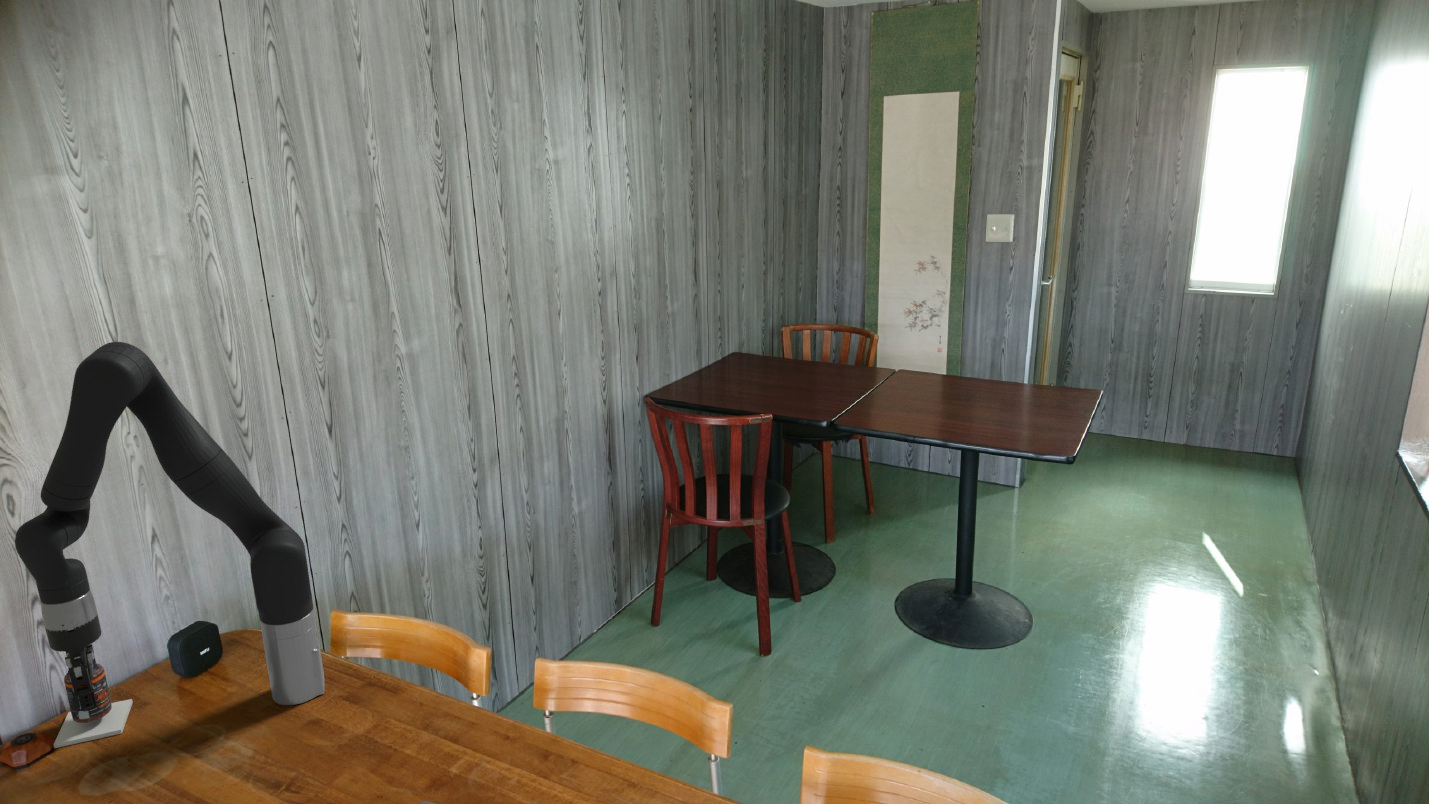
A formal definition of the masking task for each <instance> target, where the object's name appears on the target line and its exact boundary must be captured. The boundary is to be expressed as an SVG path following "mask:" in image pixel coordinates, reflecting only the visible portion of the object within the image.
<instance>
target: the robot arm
mask: <svg viewBox="0 0 1429 804" xmlns="http://www.w3.org/2000/svg"><path fill="white" fill-rule="evenodd" d="M125 409H129V411H131V413H132V414H133V415H134V416H135V417H136V418H137V420H138V421H139V422H140V424H141V425H142V427H143V429H145V430H144V431H146V433H147V436H148V438H149V440H150V443H151V446H152V447H153V450H154V451H153V452H154V453H155V456H156V457H157V459H158V462H159V464H160V465H161V468H162V469H163V471H164V473H165V474H166V476H168V478H169V479H170V480H171V481H172V482H173V484H174V485H175V486H176V487H177V488H178V489H179V490H180V491H181V493H183V494H184V495H185V497H186V498H187V499H188V500H190V501H191V502H192V503H193V504H194V505H196V506H197V507H199V508H200V509H201V510H203V511H204V512H206V513H208V514H209V515H211V516H212V517H215V518H216V519H217V520H219V521H221V522H222V523H224V524H225V525H226V526H227V527H228V528H229V529H230V530H231V531H232V532H233V534H234V535H235V536H236V538H237V539H238V541H240V542H241V544H242V545H243V547H244V548H245V549H246V551H247V553H248V554H249V558H250V566H249V567H250V576H251V582H252V588H253V593H254V594H253V595H254V598H255V605H256V609H257V613H258V618H259V622H260V623H259V624H260V630H261V636H262V642H263V649H264V655H265V662H266V667H267V672H268V680H269V684H270V685H269V686H270V692H271V698H272V700H273V702H274V703H276V704H278V705H280V706H293V705H298V704H303V703H306V702H309V701H310V700H312V699H314V698H316V697H317V696H321V695H324V694H325V672H324V665H323V659H322V658H323V657H322V651H321V650H322V649H321V645H320V644H321V643H320V637H319V636H318V631H317V626H316V622H317V621H316V617H315V610H314V602H313V600H314V599H313V595H312V588H311V580H310V572H309V566H308V559H307V553H306V552H307V551H306V545H305V542H304V541H303V539H302V538H301V536H300V535H299V533H298V532H297V531H295V530H294V529H293V528H292V527H291V526H290V525H289V524H288V523H287V522H285V521H284V520H283V519H282V518H281V517H280V516H279V515H278V514H277V513H276V512H275V511H274V510H272V509H271V508H270V506H269V505H267V504H266V502H265V501H264V500H263V499H262V498H261V497H260V495H259V494H258V492H257V491H256V489H255V488H254V486H253V485H252V483H250V481H249V480H248V478H246V476H245V475H244V474H243V472H242V471H241V470H240V469H239V467H238V466H237V464H236V463H235V462H234V461H233V460H232V458H231V457H230V456H229V455H228V454H227V453H226V452H225V450H224V449H223V448H222V447H221V445H219V444H218V443H217V442H216V441H215V440H214V438H213V437H212V436H211V435H210V433H208V432H207V430H206V429H205V428H204V426H202V425H201V424H200V422H199V420H197V419H196V417H194V416H193V414H192V413H191V412H190V411H189V410H188V409H187V408H186V407H185V406H184V404H183V402H181V400H180V399H179V398H178V397H177V395H176V394H175V392H174V391H173V390H172V388H171V387H170V385H169V383H168V382H167V381H166V379H165V378H164V376H163V374H161V372H160V370H159V369H158V368H157V366H156V365H155V364H154V362H153V361H152V360H151V358H150V357H149V356H148V355H147V354H146V353H145V352H144V351H143V350H142V349H140V348H139V347H137V346H135V345H132V344H131V343H127V342H122V341H112V342H108V343H105V344H103V345H101V346H99V347H97V348H96V349H95V350H94V351H93V352H92V353H91V354H89V355H88V356H87V357H86V358H84V359H83V360H82V361H81V362H80V363H79V365H78V366H77V368H76V369H75V374H74V378H73V383H72V389H71V396H70V402H69V409H68V413H67V419H66V423H65V427H64V431H63V433H62V436H61V439H60V441H59V443H58V447H57V450H56V451H55V453H54V456H53V459H52V461H51V463H50V466H49V468H48V471H47V474H46V477H45V479H44V482H43V483H42V487H41V490H40V499H41V502H42V503H43V504H44V505H45V506H46V508H45V510H44V511H43V512H42V513H40V514H38V515H37V516H35V517H33V518H31V519H30V520H27V521H25V522H24V523H23V524H21V526H19V528H18V529H17V531H16V533H15V537H14V546H15V550H16V552H17V555H18V556H19V558H20V559H21V561H22V563H23V564H24V566H25V567H26V569H27V570H28V572H29V573H30V575H31V576H32V578H33V579H34V580H35V582H36V587H37V591H38V592H37V593H38V596H39V600H40V607H41V610H40V611H41V616H42V620H43V623H44V624H43V625H44V629H45V633H46V637H47V640H48V645H49V648H50V649H51V650H53V651H55V652H65V656H64V661H65V666H66V667H67V669H68V670H67V673H69V676H70V681H71V682H72V686H73V690H74V695H75V697H77V696H78V697H79V701H80V705H81V710H82V711H88V710H92V709H95V708H96V707H97V703H96V698H95V694H94V689H93V688H94V685H93V682H92V677H93V676H94V674H95V673H94V667H93V659H94V657H95V658H96V656H95V648H94V643H95V642H96V641H97V640H99V638H100V637H101V635H102V628H101V623H100V620H99V614H98V610H97V606H96V601H95V598H94V595H93V592H92V591H91V587H90V583H89V579H88V574H87V571H86V567H85V565H84V563H83V561H81V560H79V559H77V558H70V557H69V558H65V555H64V550H65V549H67V548H68V547H70V546H71V545H73V544H74V543H76V542H77V541H79V539H81V537H82V536H83V535H84V534H85V531H86V529H87V528H88V525H89V521H90V512H91V499H92V497H93V494H94V493H95V490H96V488H97V485H98V482H99V480H100V478H101V475H102V472H103V469H104V465H105V461H106V455H107V453H106V452H107V446H108V442H109V439H110V437H111V433H112V431H113V429H114V427H115V425H116V423H118V420H119V419H120V418H121V416H122V414H123V412H124V411H125ZM93 656H94V657H93ZM88 669H89V670H90V671H89V673H88ZM81 684H87V685H85V686H81V687H79V685H81Z"/></svg>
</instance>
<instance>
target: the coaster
mask: <svg viewBox="0 0 1429 804" xmlns="http://www.w3.org/2000/svg"><path fill="white" fill-rule="evenodd" d="M133 702H134V701H133V699H132V698H129V699H126V700H120V701H115V702H111V705H112V709H111V710H110V712H109V713H108V714H106V715H105V716H104V717H102V718H100V719H98V720H95V721H92V722H88V723H78V722H75V721H74V720H73V718H72V714H71V711H68V712H67V715H66V717H65V719H64V722H63V723H62V725H61V728H60V730H59V732H58V735H57V737H56V739H55V740H54V743H53V748H54V749H57V748H62V747H66V746H67V747H68V746H71V745H75V744H80V743H86V742H89V741H94V740H98V739H103V738H107V737H112V736H116V735H121V734H123V731H124V728H125V726H126V722H127V720H128V717H129V715H130V712H131V708H132V706H133Z"/></svg>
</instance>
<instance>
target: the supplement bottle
mask: <svg viewBox="0 0 1429 804" xmlns="http://www.w3.org/2000/svg"><path fill="white" fill-rule="evenodd" d="M93 657H94V656H93ZM93 667H94V673H95V674H94V676H93V677H92V682H93V685H94V688H93V689H94V694H95V698H96V703H97V707H96V708H95V709H92V710H88V711H82V710H81V705H80V701H79V697H78V696H77V697H75V695H74V690H73V686H72V682H71V681H70V676H69V673H68V672H67V673H66V674H65V675H64V678H63V682H64V687H65V692H66V695H67V700H68V704H69V709H70V712H71V714H72V718H73V720H74V721H75V722H78V723H88V722H92V721H95V720H98V719H100V718H102V717H104V716H105V715H106V714H108V713H109V712H110V710H111V709H112V705H111V703H112V700H111V698H112V696H111V695H110V691H109V684H108V682H107V677H106V673H105V668H104V666H103V665H101V664H100V663H97V661H96V656H95V657H94V659H93ZM89 671H90V670H89V669H88V673H89ZM85 685H87V684H81V685H79V687H81V686H85Z"/></svg>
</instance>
